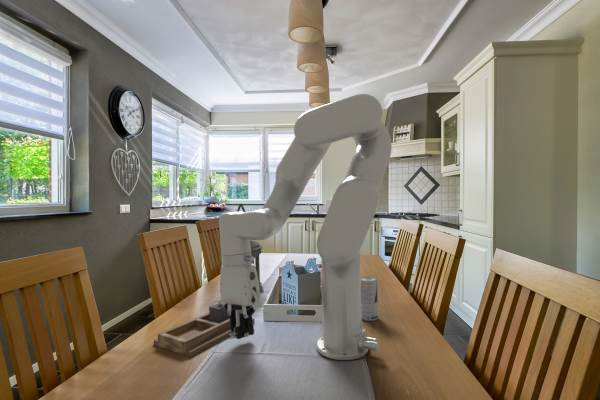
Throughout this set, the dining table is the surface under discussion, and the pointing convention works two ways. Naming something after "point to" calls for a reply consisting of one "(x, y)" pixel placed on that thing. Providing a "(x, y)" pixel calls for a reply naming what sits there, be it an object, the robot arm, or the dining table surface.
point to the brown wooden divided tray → (194, 335)
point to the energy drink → (369, 299)
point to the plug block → (218, 313)
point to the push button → (239, 323)
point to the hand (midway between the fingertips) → (241, 329)
